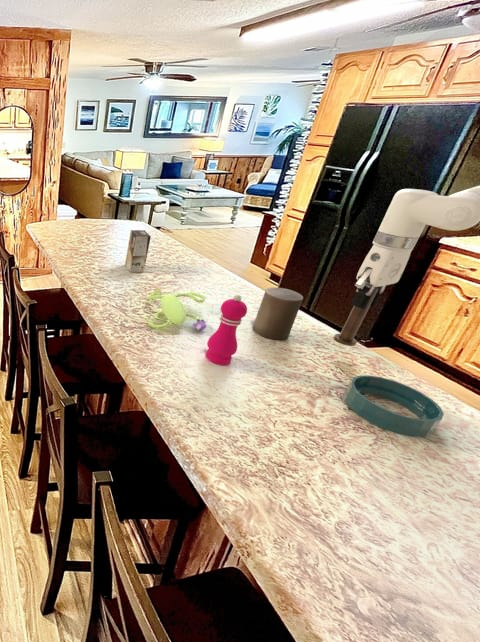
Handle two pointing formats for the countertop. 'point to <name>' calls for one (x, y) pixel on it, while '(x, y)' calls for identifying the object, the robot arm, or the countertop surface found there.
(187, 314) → the figurine
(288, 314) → the pillar candle
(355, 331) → the stick
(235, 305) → the pepper mill
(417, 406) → the ring
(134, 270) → the coffee box
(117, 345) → the countertop surface
